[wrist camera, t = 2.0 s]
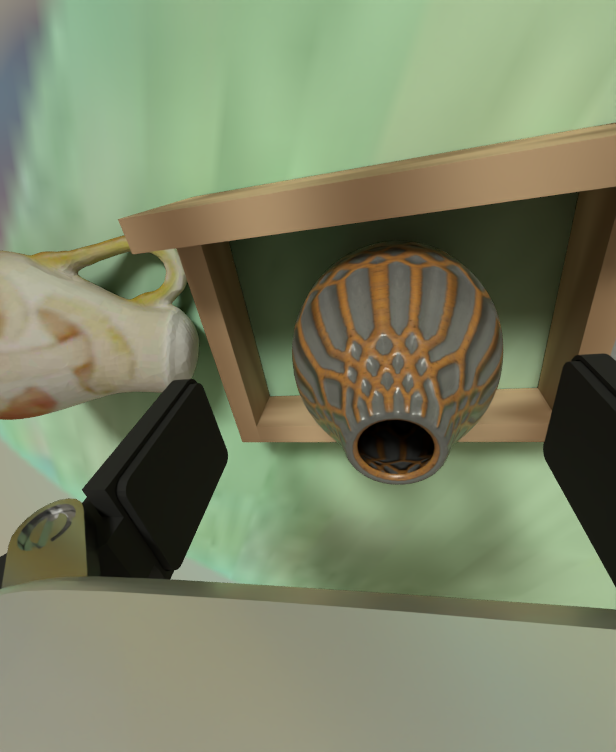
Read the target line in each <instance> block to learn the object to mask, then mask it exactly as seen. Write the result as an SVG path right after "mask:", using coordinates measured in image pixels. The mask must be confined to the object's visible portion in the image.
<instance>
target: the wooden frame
mask: <svg viewBox="0 0 616 752" xmlns="http://www.w3.org/2000/svg"><path fill="white" fill-rule="evenodd" d="M572 192H579V195H578V200H577V205H576V210H575V214H574V219H573V224H572V229H571V233H570V238H569V243H568V247H567V252H566V257H565V262H564V266H563V271H562V276H561V281H560V285H559V290H558V295H557V300H556V304H555V309H554V314H553V318H552V323H551V328H550V333H549V337H548V342H547V347H546V352H545V356H544V361H543V366H542V370H541V375H540V380H539V385H538V388H521V389H497V390H496V393H495V395H494V398H493V400H492V402H491V404H490V406H489V407H488V409H487V410H486V412H485V413H484V415H483V416H482V418H481V419H480V420H479V422H478V423H477V424H476V425H475V426H474V427H473V428H472V429H471V430H470V431H469V432H468V433H467V434H466V435H465V436H463V437H462V438H461V439H460V440H459V441H458V442H544V441H545V437H546V433H547V429H548V425H549V421H550V417H551V413H552V409H553V405H554V401H555V397H556V393H557V389H558V384H559V380H560V376H561V372H562V368H563V366H564V364H565V363H566V362H571V360H572V359H573V357H574V356H576V355H585V354H601V353H605V354H608V355H611V352H612V349H613V346H614V343H615V340H616V123H611V124H606V125H600V126H594V127H588V128H583V129H577V130H571V131H566V132H560V133H554V134H549V135H543V136H537V137H532V138H526V139H520V140H515V141H509V142H503V143H497V144H492V145H486V146H480V147H475V148H469V149H463V150H458V151H452V152H446V153H441V154H435V155H429V156H423V157H418V158H412V159H406V160H401V161H395V162H389V163H384V164H378V165H372V166H367V167H361V168H355V169H350V170H344V171H338V172H332V173H327V174H321V175H315V176H310V177H304V178H298V179H293V180H287V181H281V182H276V183H270V184H264V185H258V186H253V187H247V188H241V189H236V190H230V191H224V192H219V193H213V194H207V195H202V196H196V197H191V198H188V199H185V200H181V201H178V202H175V203H171V204H168V205H165V206H161V207H158V208H154V209H151V210H148V211H144V212H141V213H138V214H134V215H131V216H128V217H124V218H121V219H118V220H119V223H120V225H121V228H122V230H123V233H124V235H125V237H126V240H127V242H128V245H129V247H130V250H131V252H132V254H139V253H146V252H153V251H161V250H168V249H175V248H176V249H177V252H178V255H179V258H180V261H181V264H182V267H183V269H184V272H185V275H186V278H187V281H188V284H189V287H190V290H191V293H192V296H193V299H194V302H195V305H196V307H197V310H198V313H199V316H200V319H201V322H202V325H203V328H204V331H205V334H206V337H207V340H208V342H209V345H210V348H211V351H212V354H213V357H214V360H215V363H216V366H217V369H218V372H219V375H220V378H221V380H222V383H223V386H224V389H225V392H226V395H227V398H228V401H229V404H230V407H231V410H232V413H233V416H234V418H235V421H236V424H237V427H238V430H239V433H240V436H241V439H242V442H336V441H335V440H334V439H333V438H332V437H330V436H329V435H328V434H327V433H326V432H325V431H324V430H323V429H322V428H321V427H320V426H319V425H318V424H317V423H316V421H315V420H314V419H313V417H312V416H311V414H310V413H309V412H308V410H307V408H306V406H305V405H304V403H303V400H302V398H301V396H270V395H269V392H268V388H267V384H266V380H265V377H264V373H263V369H262V365H261V361H260V358H259V354H258V350H257V346H256V343H255V339H254V335H253V331H252V328H251V324H250V320H249V316H248V313H247V309H246V305H245V301H244V297H243V294H242V290H241V286H240V282H239V279H238V275H237V271H236V267H235V264H234V260H233V256H232V252H231V249H230V245H229V241H232V240H239V239H246V238H253V237H260V236H267V235H274V234H281V233H288V232H295V231H302V230H310V229H317V228H324V227H331V226H338V225H345V224H352V223H359V222H366V221H373V220H381V219H388V218H395V217H402V216H409V215H416V214H423V213H430V212H437V211H444V210H452V209H459V208H466V207H473V206H480V205H487V204H494V203H501V202H508V201H515V200H523V199H530V198H537V197H544V196H551V195H558V194H565V193H572Z"/></svg>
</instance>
